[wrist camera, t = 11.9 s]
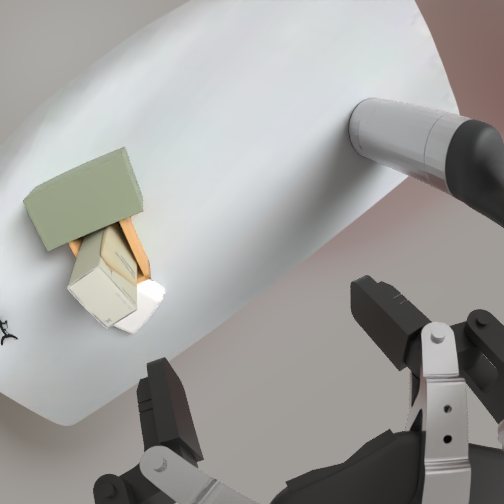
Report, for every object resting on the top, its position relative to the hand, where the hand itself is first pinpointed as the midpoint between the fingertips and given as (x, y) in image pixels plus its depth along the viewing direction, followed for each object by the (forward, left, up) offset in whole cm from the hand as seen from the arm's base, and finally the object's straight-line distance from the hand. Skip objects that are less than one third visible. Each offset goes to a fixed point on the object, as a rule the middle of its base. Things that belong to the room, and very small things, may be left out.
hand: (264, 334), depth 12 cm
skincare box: (+11, +6, -28) cm, 31 cm away
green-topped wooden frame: (+11, +3, -28) cm, 30 cm away
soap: (+12, +15, -29) cm, 35 cm away
